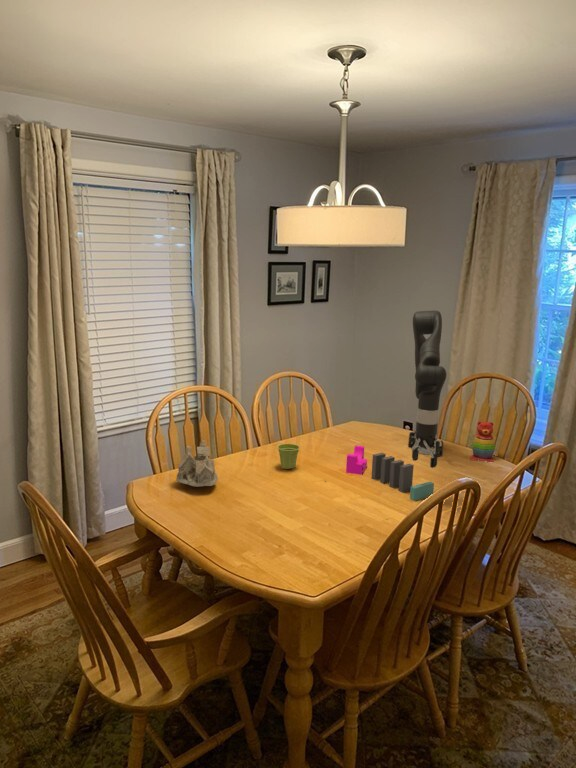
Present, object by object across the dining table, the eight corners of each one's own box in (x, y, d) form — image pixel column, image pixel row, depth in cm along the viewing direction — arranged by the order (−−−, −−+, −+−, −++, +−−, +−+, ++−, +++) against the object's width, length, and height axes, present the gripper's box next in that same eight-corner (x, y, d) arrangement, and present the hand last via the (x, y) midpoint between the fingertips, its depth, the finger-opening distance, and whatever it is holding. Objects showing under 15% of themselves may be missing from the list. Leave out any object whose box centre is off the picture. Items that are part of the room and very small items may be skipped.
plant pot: (273, 468, 233) (273, 448, 231) (282, 461, 241) (282, 442, 240) (294, 472, 229) (294, 451, 228) (302, 464, 238) (303, 445, 236)
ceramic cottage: (178, 474, 223) (177, 438, 220) (219, 474, 224) (219, 438, 221) (172, 489, 208) (171, 451, 205) (216, 489, 209) (216, 451, 206)
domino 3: (389, 486, 216) (390, 461, 214) (398, 484, 219) (400, 459, 217) (392, 488, 215) (394, 463, 213) (402, 485, 218) (403, 461, 216)
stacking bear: (468, 462, 246) (472, 423, 243) (469, 455, 256) (473, 417, 252) (494, 466, 243) (498, 426, 239) (495, 459, 252) (499, 420, 248)
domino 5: (428, 494, 210) (409, 499, 205) (430, 481, 209) (410, 486, 204) (433, 495, 209) (413, 501, 203) (434, 483, 208) (414, 488, 202)
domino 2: (380, 482, 220) (381, 458, 218) (389, 479, 223) (391, 456, 221) (383, 483, 219) (385, 459, 217) (393, 481, 222) (394, 457, 220)
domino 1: (371, 478, 224) (372, 454, 222) (380, 476, 227) (382, 452, 225) (374, 480, 223) (376, 456, 221) (384, 477, 225) (385, 454, 223)
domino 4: (398, 490, 212) (400, 465, 210) (407, 488, 215) (409, 463, 213) (402, 492, 211) (404, 467, 209) (411, 490, 214) (413, 465, 212)
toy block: (360, 475, 228) (361, 457, 227) (346, 473, 230) (346, 455, 229) (369, 463, 242) (370, 447, 240) (354, 461, 244) (355, 445, 243)
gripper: (449, 424, 197) (446, 467, 200) (419, 414, 208) (416, 456, 212) (435, 427, 193) (431, 471, 196) (405, 417, 204) (402, 459, 208)
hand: (423, 463), depth 204 cm, fingers open, 8 cm apart
